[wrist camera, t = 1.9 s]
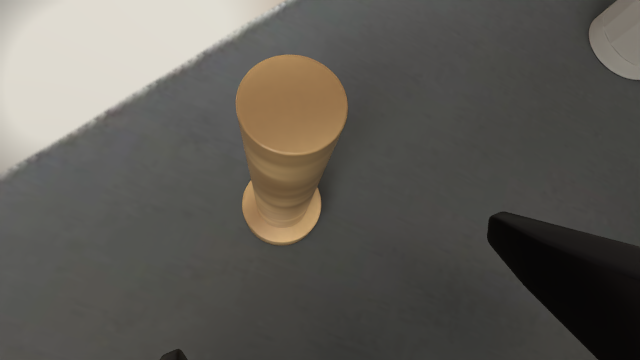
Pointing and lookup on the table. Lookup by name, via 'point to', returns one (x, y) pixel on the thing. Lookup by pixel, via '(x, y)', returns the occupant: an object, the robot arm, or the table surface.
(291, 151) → the tan wooden tall piece
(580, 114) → the table surface
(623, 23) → the cup
